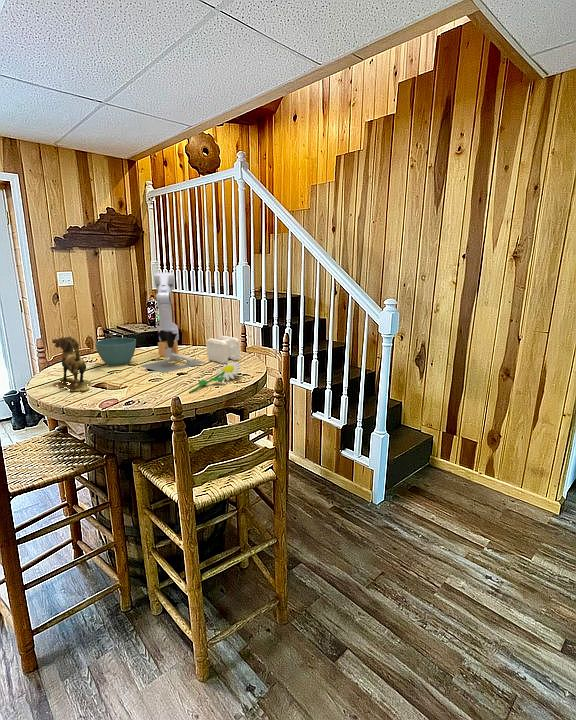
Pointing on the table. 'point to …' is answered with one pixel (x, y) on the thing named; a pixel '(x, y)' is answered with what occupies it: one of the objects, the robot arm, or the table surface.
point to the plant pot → (116, 350)
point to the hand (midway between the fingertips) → (168, 346)
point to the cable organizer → (223, 349)
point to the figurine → (71, 365)
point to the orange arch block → (164, 345)
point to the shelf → (168, 367)
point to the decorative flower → (222, 374)
